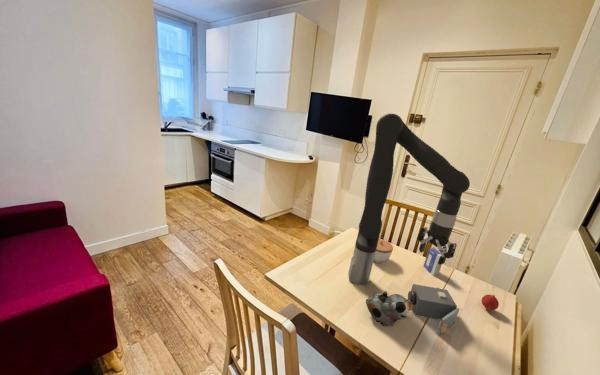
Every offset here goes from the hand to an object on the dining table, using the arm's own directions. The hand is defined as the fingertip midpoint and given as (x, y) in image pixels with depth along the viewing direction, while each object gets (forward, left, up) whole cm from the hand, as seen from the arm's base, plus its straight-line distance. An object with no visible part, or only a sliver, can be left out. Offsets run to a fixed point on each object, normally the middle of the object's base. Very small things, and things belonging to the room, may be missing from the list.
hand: (430, 257), depth 100 cm
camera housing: (+4, -4, -22) cm, 23 cm away
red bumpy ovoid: (+31, +3, -22) cm, 38 cm away
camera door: (+7, -13, -22) cm, 26 cm away
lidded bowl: (-12, +28, -22) cm, 38 cm away
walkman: (+15, +25, -22) cm, 36 cm away
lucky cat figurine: (-15, -12, -22) cm, 29 cm away
